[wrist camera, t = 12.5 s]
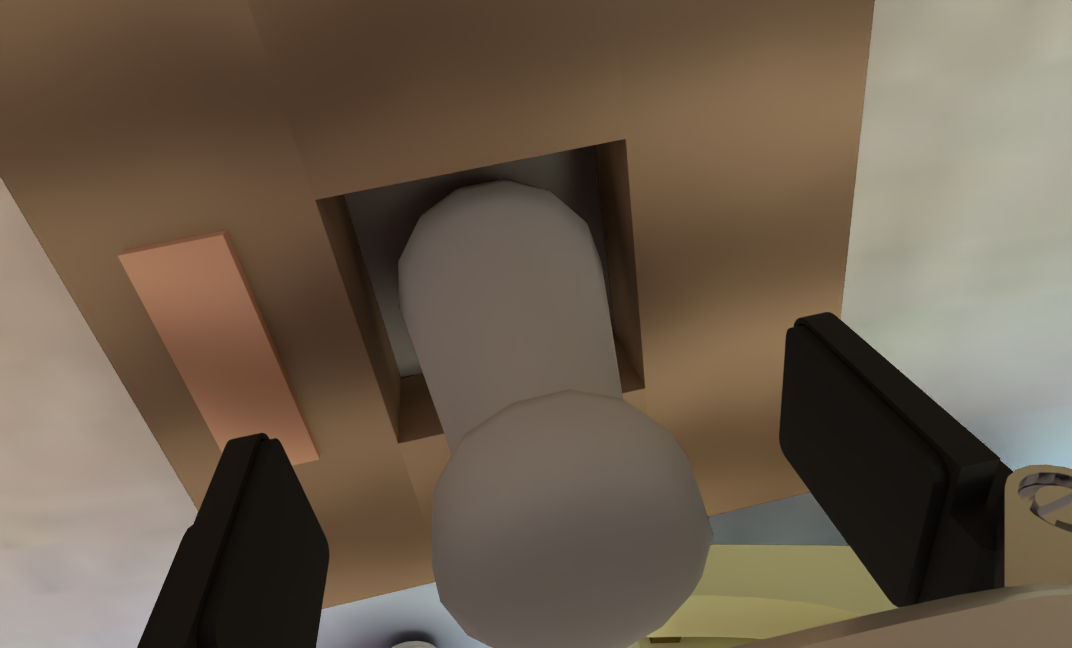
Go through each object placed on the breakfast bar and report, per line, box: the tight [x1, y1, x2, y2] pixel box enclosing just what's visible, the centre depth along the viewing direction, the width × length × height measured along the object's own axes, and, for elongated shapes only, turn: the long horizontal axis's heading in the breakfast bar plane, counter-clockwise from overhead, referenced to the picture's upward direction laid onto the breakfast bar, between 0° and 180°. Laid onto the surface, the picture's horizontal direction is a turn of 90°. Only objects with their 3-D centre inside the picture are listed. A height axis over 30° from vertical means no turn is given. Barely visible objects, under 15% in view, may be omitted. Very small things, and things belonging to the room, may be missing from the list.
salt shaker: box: [398, 179, 713, 648], centre depth 14 cm, size 6×6×13 cm
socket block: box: [0, 0, 875, 609], centre depth 18 cm, size 20×20×4 cm
